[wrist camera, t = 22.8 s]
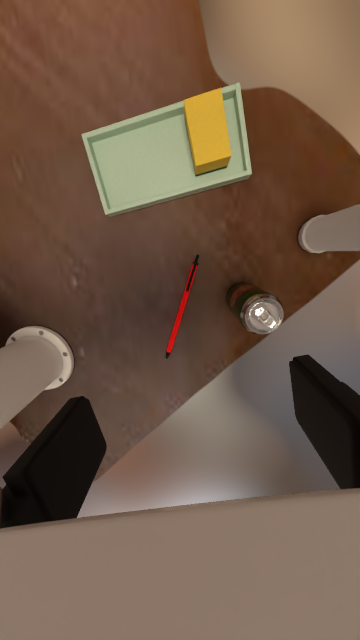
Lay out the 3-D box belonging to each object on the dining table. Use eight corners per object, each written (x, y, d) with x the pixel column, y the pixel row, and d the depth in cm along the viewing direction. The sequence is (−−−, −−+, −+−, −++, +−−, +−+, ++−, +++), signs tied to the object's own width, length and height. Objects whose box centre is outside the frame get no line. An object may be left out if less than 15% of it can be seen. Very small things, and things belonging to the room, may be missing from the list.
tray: (110, 217, 34) (105, 214, 32) (88, 141, 32) (81, 134, 30) (248, 178, 32) (251, 173, 30) (236, 93, 29) (239, 81, 27)
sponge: (195, 177, 32) (196, 166, 28) (184, 119, 30) (183, 99, 26) (226, 167, 31) (231, 155, 27) (217, 109, 29) (221, 87, 26)
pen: (200, 255, 36) (200, 255, 34) (168, 359, 41) (168, 362, 40) (195, 254, 36) (195, 253, 34) (163, 357, 41) (163, 360, 40)
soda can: (242, 275, 36) (266, 284, 24) (263, 296, 37) (296, 315, 25) (220, 298, 37) (232, 317, 26) (241, 318, 38) (262, 345, 26)
